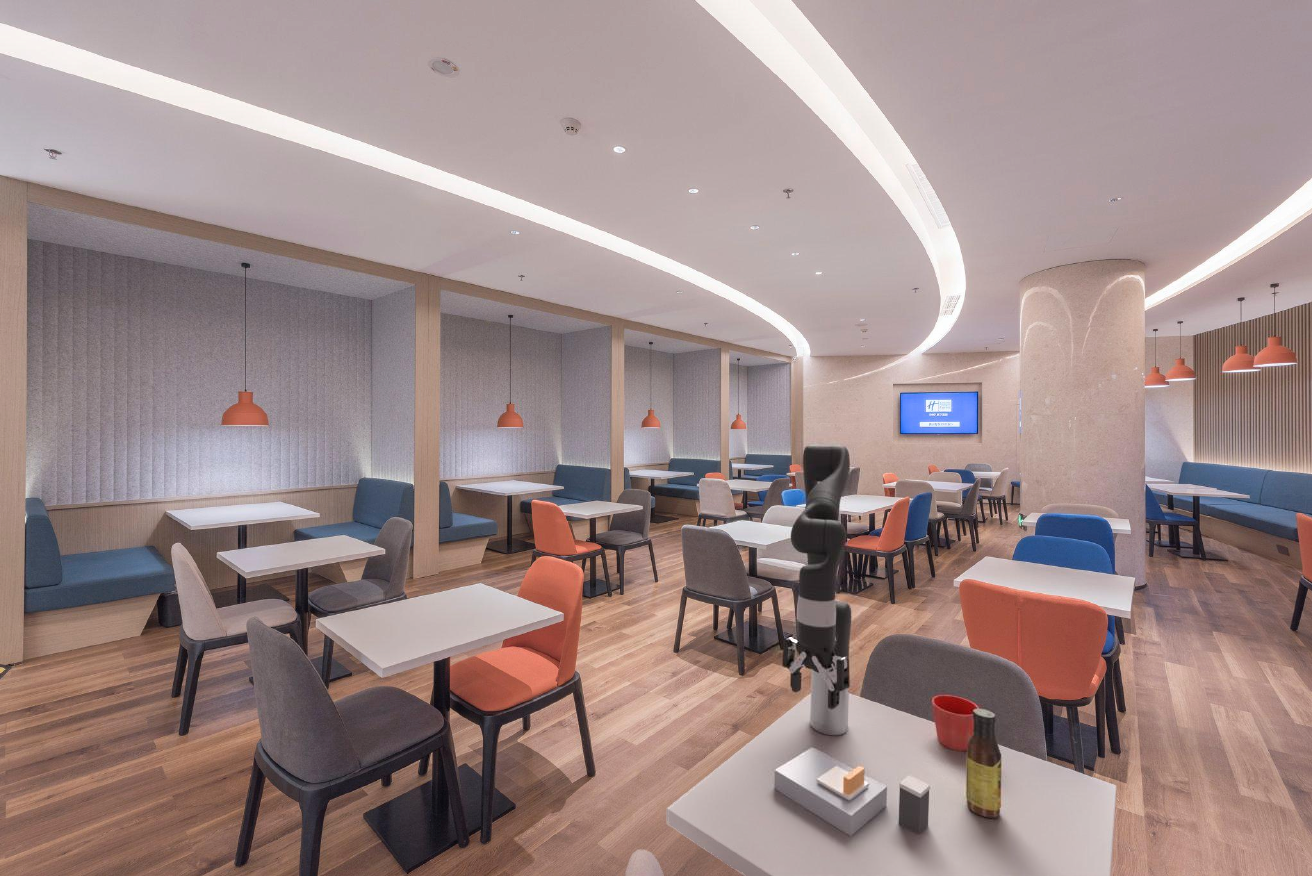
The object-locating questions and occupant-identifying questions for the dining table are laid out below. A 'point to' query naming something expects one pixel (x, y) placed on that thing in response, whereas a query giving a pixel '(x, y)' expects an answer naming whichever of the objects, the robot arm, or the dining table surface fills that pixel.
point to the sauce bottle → (983, 766)
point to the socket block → (828, 791)
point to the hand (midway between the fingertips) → (813, 699)
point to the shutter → (844, 781)
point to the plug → (914, 804)
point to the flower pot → (953, 720)
